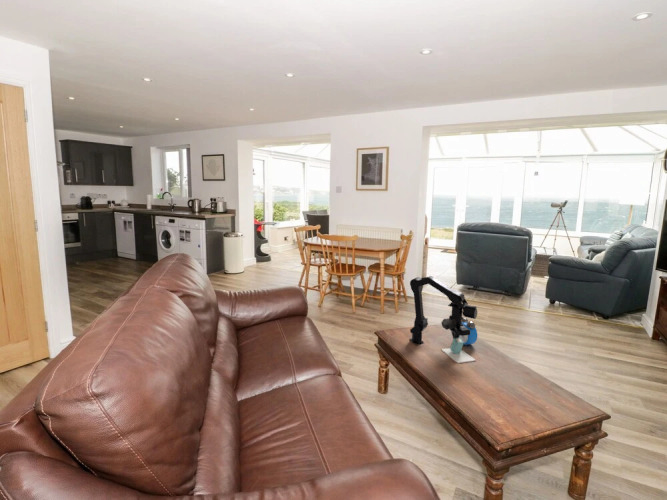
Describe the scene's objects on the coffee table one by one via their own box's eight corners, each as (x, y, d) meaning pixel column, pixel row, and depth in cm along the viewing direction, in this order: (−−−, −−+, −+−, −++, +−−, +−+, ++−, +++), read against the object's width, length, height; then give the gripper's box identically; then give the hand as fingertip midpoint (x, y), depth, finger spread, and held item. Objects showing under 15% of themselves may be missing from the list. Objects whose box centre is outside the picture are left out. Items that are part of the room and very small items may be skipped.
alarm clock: (454, 339, 222) (456, 316, 219) (463, 338, 224) (465, 315, 221) (468, 348, 210) (470, 324, 207) (476, 347, 212) (479, 323, 209)
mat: (441, 350, 207) (441, 349, 207) (458, 348, 210) (458, 347, 210) (457, 363, 192) (458, 362, 192) (475, 361, 195) (475, 360, 195)
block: (450, 349, 205) (453, 338, 201) (456, 348, 206) (459, 337, 202) (453, 354, 202) (457, 342, 198) (460, 353, 203) (463, 342, 199)
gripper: (435, 310, 208) (433, 335, 211) (454, 322, 190) (452, 349, 193) (451, 308, 211) (450, 333, 214) (472, 320, 193) (469, 347, 196)
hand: (454, 340), depth 204 cm, fingers closed
